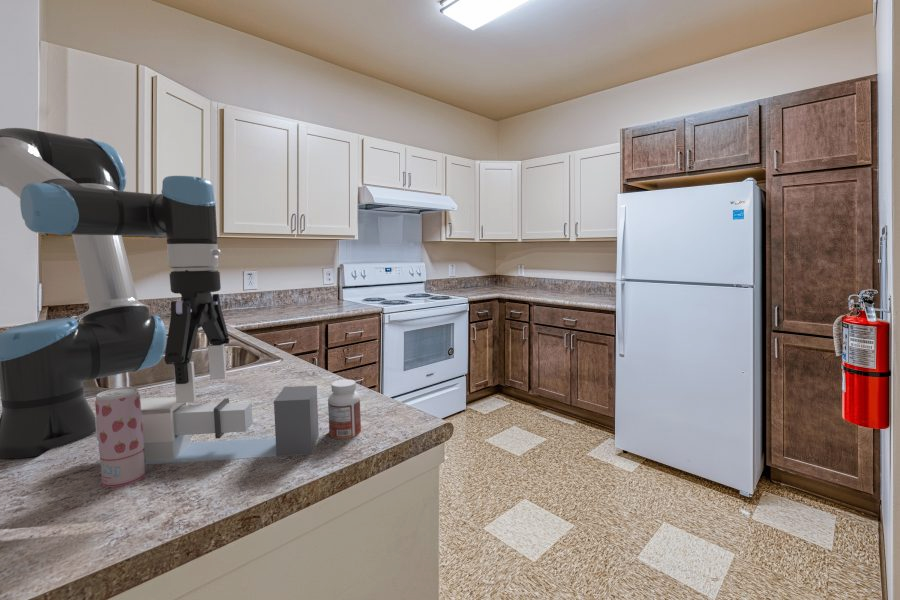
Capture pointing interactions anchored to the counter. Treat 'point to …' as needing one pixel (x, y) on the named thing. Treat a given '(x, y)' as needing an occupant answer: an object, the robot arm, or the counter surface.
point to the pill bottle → (344, 410)
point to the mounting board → (227, 450)
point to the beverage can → (120, 436)
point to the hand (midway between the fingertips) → (203, 389)
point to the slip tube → (211, 418)
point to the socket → (296, 420)
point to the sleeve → (161, 430)
